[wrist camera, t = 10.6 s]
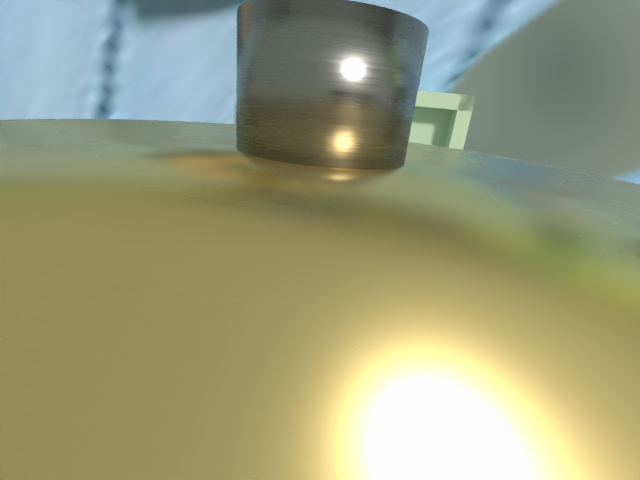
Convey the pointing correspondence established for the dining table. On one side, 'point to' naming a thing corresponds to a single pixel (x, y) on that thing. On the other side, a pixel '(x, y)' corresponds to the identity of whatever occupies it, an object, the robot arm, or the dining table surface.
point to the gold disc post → (311, 285)
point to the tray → (441, 119)
